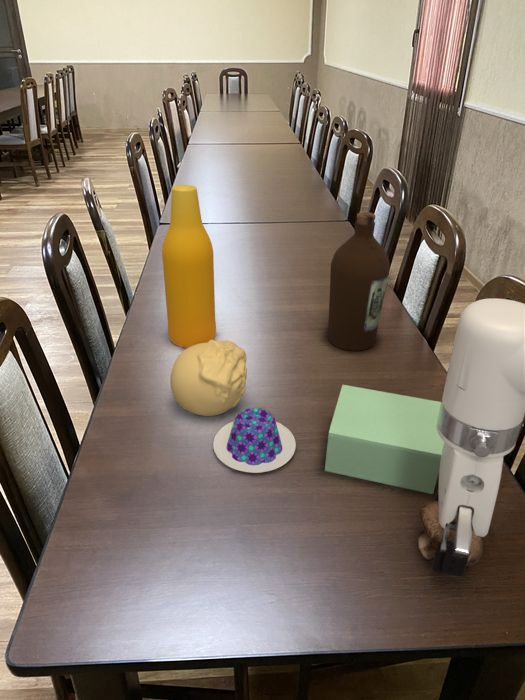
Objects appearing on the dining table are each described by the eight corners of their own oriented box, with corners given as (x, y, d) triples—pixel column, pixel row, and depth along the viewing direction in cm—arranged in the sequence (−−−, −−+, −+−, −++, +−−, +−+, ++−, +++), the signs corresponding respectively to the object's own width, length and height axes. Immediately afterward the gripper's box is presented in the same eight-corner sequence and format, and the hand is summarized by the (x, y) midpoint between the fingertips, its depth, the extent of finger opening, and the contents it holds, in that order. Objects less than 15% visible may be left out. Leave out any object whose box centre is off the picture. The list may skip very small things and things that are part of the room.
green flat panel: (445, 406, 77) (446, 402, 77) (445, 459, 68) (446, 455, 67) (342, 387, 81) (342, 384, 80) (328, 435, 71) (328, 432, 71)
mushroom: (401, 549, 59) (438, 509, 57) (399, 517, 67) (432, 481, 65) (461, 597, 58) (500, 557, 57) (452, 559, 66) (486, 523, 64)
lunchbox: (434, 439, 81) (442, 406, 77) (433, 494, 71) (442, 459, 68) (338, 420, 84) (342, 388, 81) (324, 471, 74) (328, 436, 71)
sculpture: (234, 431, 81) (234, 372, 76) (161, 417, 84) (155, 359, 78) (255, 389, 91) (256, 334, 85) (188, 378, 93) (185, 323, 88)
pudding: (288, 482, 72) (290, 453, 70) (203, 469, 74) (201, 439, 72) (300, 427, 82) (302, 399, 80) (225, 416, 84) (224, 389, 82)
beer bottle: (220, 327, 109) (216, 182, 94) (210, 351, 101) (204, 196, 86) (175, 324, 110) (165, 179, 95) (162, 347, 102) (149, 193, 87)
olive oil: (314, 342, 105) (325, 216, 92) (338, 321, 112) (351, 202, 99) (365, 359, 100) (383, 228, 87) (386, 335, 107) (406, 212, 94)
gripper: (530, 491, 45) (486, 617, 54) (509, 380, 59) (477, 494, 68) (437, 474, 47) (409, 598, 56) (439, 369, 61) (416, 482, 70)
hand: (447, 540), depth 62 cm, fingers closed on mushroom, 7 cm apart
